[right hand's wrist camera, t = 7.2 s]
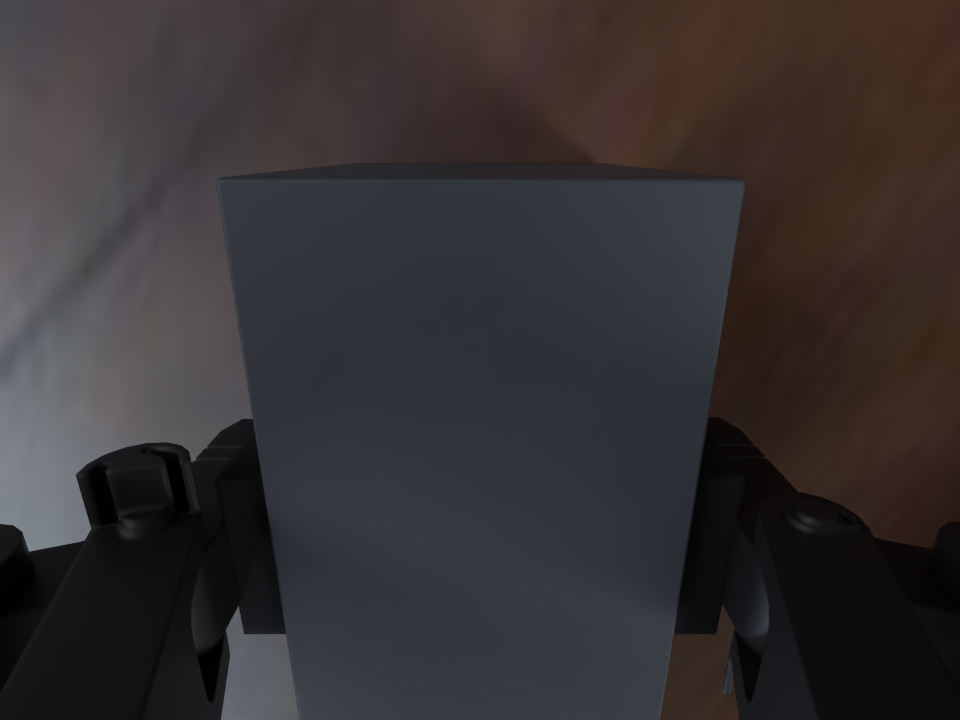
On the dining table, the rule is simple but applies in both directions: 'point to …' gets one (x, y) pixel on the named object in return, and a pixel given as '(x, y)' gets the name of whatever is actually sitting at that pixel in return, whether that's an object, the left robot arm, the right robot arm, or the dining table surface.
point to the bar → (480, 425)
